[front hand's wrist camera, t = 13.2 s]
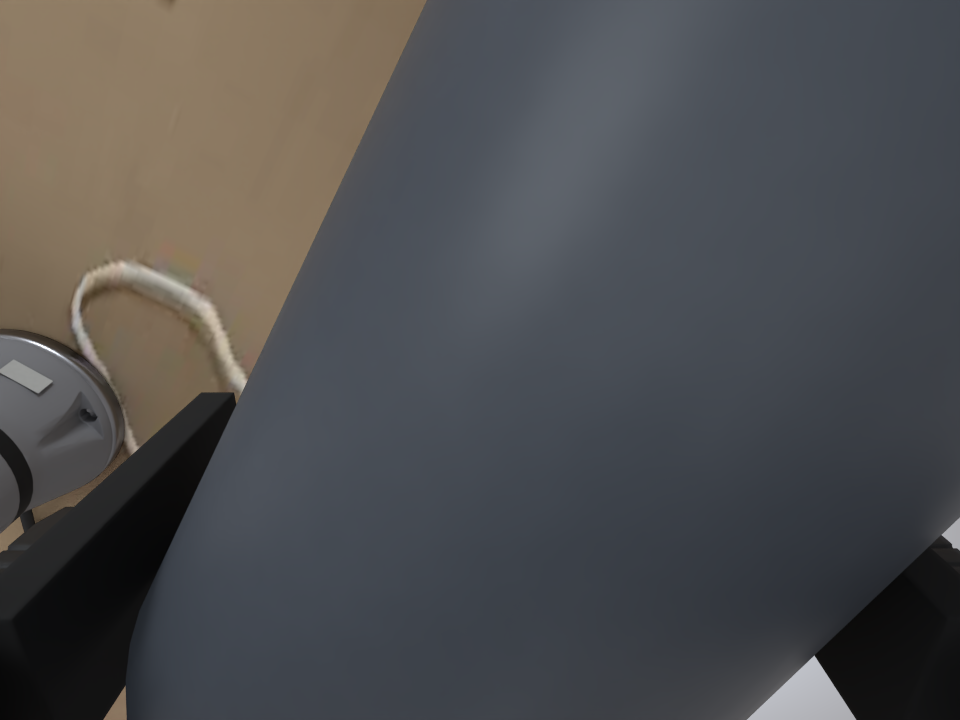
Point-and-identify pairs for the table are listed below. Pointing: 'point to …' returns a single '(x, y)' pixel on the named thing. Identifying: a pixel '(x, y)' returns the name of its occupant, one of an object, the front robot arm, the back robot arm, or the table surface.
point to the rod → (590, 376)
